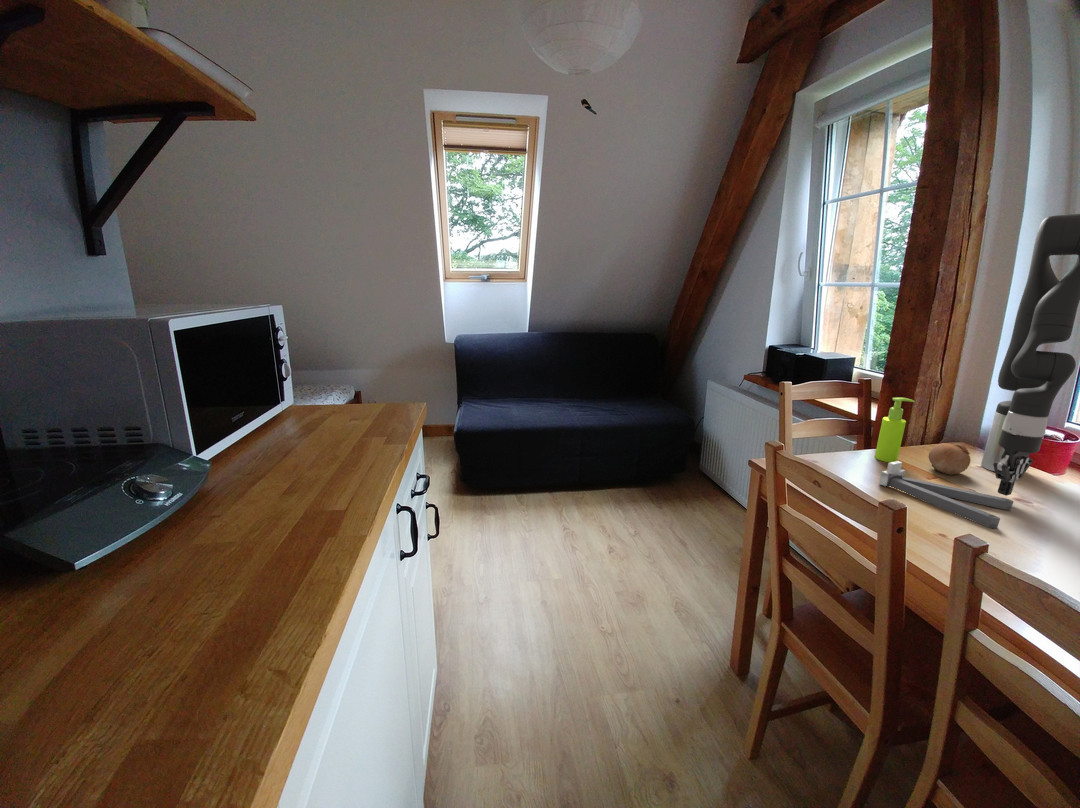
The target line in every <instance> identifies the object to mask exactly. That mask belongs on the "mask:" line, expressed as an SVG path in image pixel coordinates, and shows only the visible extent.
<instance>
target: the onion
mask: <svg viewBox="0 0 1080 808" xmlns="http://www.w3.org/2000/svg"><path fill="white" fill-rule="evenodd" d="M970 454H971V453H970V451H969V450H968V448H967V447H966V446H965V445H963V444H961V443H949V442H942V443H938V444H935V445H934V446H933V447H932V448H931V449H930V451H929V452H928V459H929V463H931V467H933V469H934V470H935V472H940V473H943V474H944V475H949V476H950V475H951V476H952V475H959V474H961V473H962V472H965V471H966V470H967V469H968V468H969V466H970V464H971V456H970Z"/></svg>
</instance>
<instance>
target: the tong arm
mask: <svg viewBox="0 0 1080 808" xmlns="http://www.w3.org/2000/svg"><path fill="white" fill-rule="evenodd" d="M902 480H903V481H906V482H908V483H911V484H914V485H916V486H919V487H921V488H924V489H927V490H929V491H932V492H935V493H937V494H940V495H942V496H945V497H948V498H950V499H957V500H960V501H961V500H962V501H965V502H969V503H974V504H979V505H984V506H988V507H992V508H997V509H1001V510H1005V511H1012V508H1013V505H1014V500H1013V499H1009V498H1005V497H999V496H996V495H992V494H991V495H990V494H986V493H982V492H977V491H971V490H967V489H963V488H959V487H955V486H954V487H953V486H949V485H945V484H944V485H943V484H940V483H936V482H929V481H925V480H921V479H916V478H912V477H911V478H910V477H906V476H904V477H903V478H902Z"/></svg>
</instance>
